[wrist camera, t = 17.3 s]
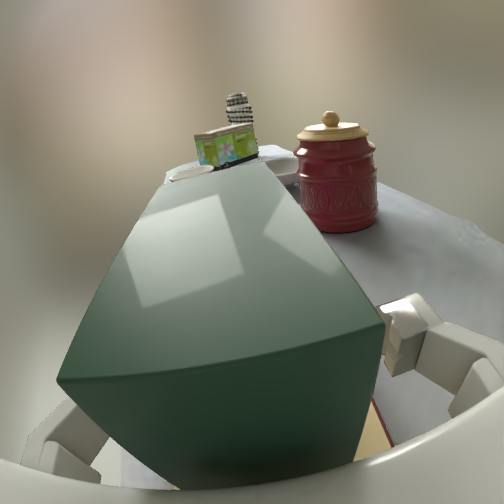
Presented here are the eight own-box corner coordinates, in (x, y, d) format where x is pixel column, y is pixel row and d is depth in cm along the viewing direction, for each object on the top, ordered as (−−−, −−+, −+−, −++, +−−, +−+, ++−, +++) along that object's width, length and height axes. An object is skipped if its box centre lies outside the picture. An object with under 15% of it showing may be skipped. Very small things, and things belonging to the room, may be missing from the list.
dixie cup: (228, 232, 50) (213, 170, 45) (183, 243, 50) (165, 182, 45) (225, 216, 57) (213, 162, 52) (186, 225, 57) (171, 172, 52)
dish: (246, 184, 75) (242, 165, 73) (297, 172, 77) (295, 154, 74) (264, 203, 60) (260, 180, 57) (327, 188, 61) (325, 166, 59)
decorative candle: (254, 160, 100) (241, 91, 88) (231, 162, 104) (218, 97, 92) (264, 154, 107) (252, 90, 95) (242, 156, 111) (230, 95, 99)
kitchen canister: (385, 231, 41) (380, 111, 32) (301, 237, 44) (283, 119, 36) (371, 200, 52) (363, 107, 43) (303, 205, 55) (290, 112, 47)
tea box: (224, 184, 79) (212, 132, 72) (203, 182, 86) (192, 135, 79) (262, 168, 87) (253, 121, 80) (239, 167, 94) (230, 124, 87)
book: (338, 503, 9) (392, 322, 3) (237, 522, 9) (50, 380, 3) (294, 353, 18) (264, 159, 12) (223, 368, 18) (159, 183, 12)
